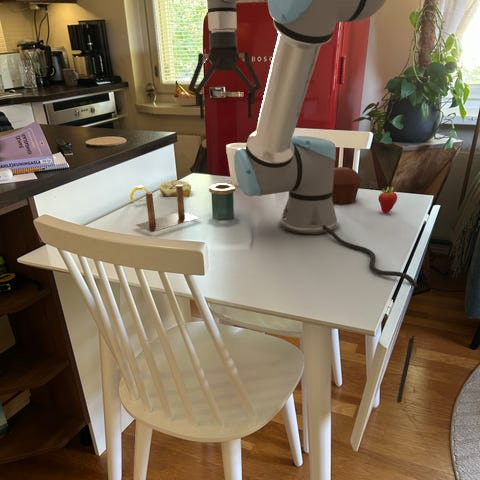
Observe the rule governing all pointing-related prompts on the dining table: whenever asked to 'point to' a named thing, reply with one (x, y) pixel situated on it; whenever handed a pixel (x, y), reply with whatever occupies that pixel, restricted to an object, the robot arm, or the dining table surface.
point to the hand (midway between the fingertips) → (226, 118)
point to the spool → (222, 201)
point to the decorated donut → (174, 188)
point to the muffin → (345, 185)
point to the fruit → (387, 199)
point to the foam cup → (230, 154)
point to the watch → (135, 190)
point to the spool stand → (167, 220)
